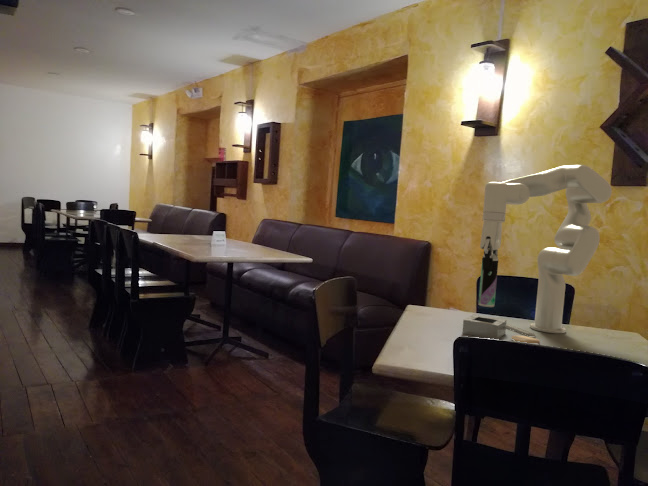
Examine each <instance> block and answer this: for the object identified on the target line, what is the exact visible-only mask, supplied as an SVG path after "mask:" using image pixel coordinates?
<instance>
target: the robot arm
mask: <svg viewBox="0 0 648 486" xmlns="http://www.w3.org/2000/svg"><path fill="white" fill-rule="evenodd" d="M562 190H565V198H566V201H567V205H568V207H567V208H568V210H567V215H565V218H564V219H563V221H562V223H561V224H560V226H559V228H558V229H557V231H556V232H555V235H554V240H553V241H554V244H555V245H556V246H557V247H556V246H555V247H554V246H553V247H552V246H550V247H545V248H543V249H542V250H540V251H539V253H538V255H537V269H538V281H537V282H538V283H537V292H536V293H537V294H536V304H535V316H534V322H532V323H529V328H531V329H532V330H535V331H538V332H543V333H549V334H564V333H566V331H567V329H566V328H565V327H564V326H562V324H563V315H564V306H565V297H566V294H565V292H566V281H565V278H564V275H566V276H570V277H572V276H573V277H577V276H580V275H581V274H582V273H583V272H584V271H585V270H586V268H587V267H588V266H589V263H590V262H591V260H592V258H593V256H594V255H595V253H596V252H597V249H598V247H599V245H600V240H601V236H600V232H599V230H597V229H596V227H593V226H590V223H591V220H592V216H591V215H592V214H591V211H590V209H589V205H588V204H602V203H605V202H607V201H609V200H610V198H611V197H612V193H613V191H612V190H613V189H612V186H611V184H610V182H608V180H606V179H605V178H604V177H603V176H601V175H600V174H599V173H598V172H597V171H595V170H594V169H592V168H591V167H589V166H587V165H585V164H569V165H561V166H557V167H555V168H551V169H548V170H544V171H541V172H537V173H534V174H530V175H525V176H521V177H517V178H513V179H508V180H505V181H502V182H500V181H499V182H497V181H490V182H487V183H486V184H485V187H484V196H483V197H484V199H483V209H482V210H483V211H482V221H483V224H482V228H481V237H480V244H479V248H480V249H482V250H483V256H482V258H483V267H482V266H481V267H482V268H483V269H489V270H491V269H492V264H493V258H492V255H493V253H494V254H495V255H496V256H497V257H499V256H498V254H499V253H498V251H499V249H500V248H501V245H502V234H503V233H502V230H503V223H506V215H507V214H506V212H507V205H515V206H517V205H523V204H525V203H527V201H528V200H529V199H530V198H535V197H543V196H547V195H550V194H553V193H556V192H559V191H562ZM493 250H494V251H493ZM490 251H491V252H490Z"/></svg>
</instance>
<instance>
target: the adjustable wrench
mask: <svg viewBox="0 0 648 486" xmlns="http://www.w3.org/2000/svg"><path fill="white" fill-rule="evenodd" d="M496 319H498V318H496ZM507 328H508V330H510V329H511V330H510V331H512V330H514V331H513V332H515V331H517V332H516V333H518V332H520V333H523V334H526V335H528V336H535V337H536V333H534V332H531V331H529V330H526V329H522V328H520V327H517V326H514V325H512V324H509V323H507V322H506V329H507ZM520 333H519V334H520ZM523 334H522V335H523ZM526 335H525V336H526Z"/></svg>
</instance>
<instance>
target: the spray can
mask: <svg viewBox="0 0 648 486" xmlns="http://www.w3.org/2000/svg"><path fill="white" fill-rule="evenodd" d="M493 251H494V250H493ZM490 252H491V251H490ZM492 258H493V264H492V269H491V270H489V269H483V268H482V267H483V257H482V259H481V269H480V280H479V294H478V302H477V303H478V304H477V305H479V306H481V307H486V308H494V307H495V303H496V294H497V291H496V290H497V281H498V268H499V256H496V255H495V254H494V253H493V255H492Z"/></svg>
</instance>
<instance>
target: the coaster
mask: <svg viewBox="0 0 648 486" xmlns="http://www.w3.org/2000/svg"><path fill="white" fill-rule="evenodd" d="M511 338H512V339H514V340H515V341H520V342H527V343H539V344H540V343H541V341H540V340H539V339H538V338H535V337H528V336H526V335H511Z"/></svg>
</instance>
